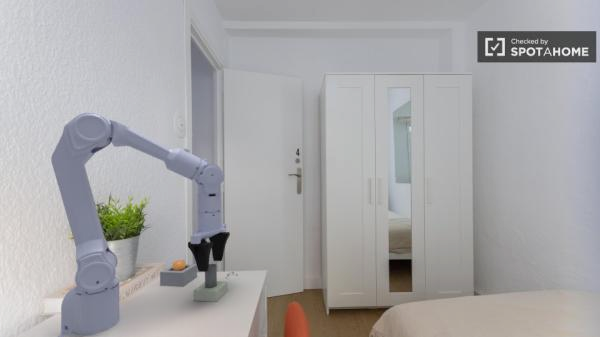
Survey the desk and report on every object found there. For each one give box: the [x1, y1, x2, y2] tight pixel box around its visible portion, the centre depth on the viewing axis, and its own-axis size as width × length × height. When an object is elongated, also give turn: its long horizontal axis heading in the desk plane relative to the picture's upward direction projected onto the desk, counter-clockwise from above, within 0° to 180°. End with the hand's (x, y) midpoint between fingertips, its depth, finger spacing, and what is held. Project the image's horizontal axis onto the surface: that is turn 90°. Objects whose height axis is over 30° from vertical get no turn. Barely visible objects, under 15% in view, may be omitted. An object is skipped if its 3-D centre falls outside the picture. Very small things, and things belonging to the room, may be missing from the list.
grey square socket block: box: [159, 263, 198, 287], centre depth 77 cm, size 7×7×5 cm
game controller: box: [225, 271, 238, 280], centre depth 80 cm, size 6×12×3 cm, turn 100°
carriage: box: [192, 263, 229, 303], centre depth 67 cm, size 6×6×7 cm
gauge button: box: [172, 259, 186, 271], centre depth 77 cm, size 3×3×4 cm
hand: (210, 265), depth 67 cm, fingers open, 7 cm apart
